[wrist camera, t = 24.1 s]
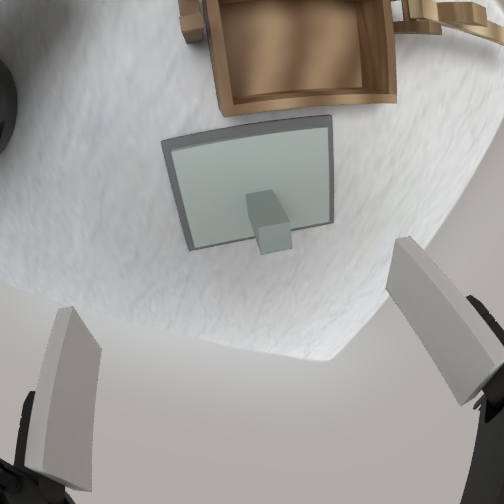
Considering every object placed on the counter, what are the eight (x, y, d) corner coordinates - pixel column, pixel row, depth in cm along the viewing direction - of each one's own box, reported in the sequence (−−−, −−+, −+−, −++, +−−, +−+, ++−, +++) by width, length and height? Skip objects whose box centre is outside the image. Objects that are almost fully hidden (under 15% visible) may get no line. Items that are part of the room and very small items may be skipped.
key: (410, 18, 20) (459, 17, 15) (407, -1, 19) (457, -5, 13) (525, 55, 22) (564, 66, 16) (524, 41, 21) (563, 51, 15)
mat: (188, 248, 41) (189, 251, 41) (161, 140, 33) (160, 142, 32) (331, 220, 43) (333, 222, 42) (330, 114, 34) (332, 115, 34)
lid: (194, 242, 40) (196, 289, 33) (171, 149, 33) (165, 177, 25) (325, 217, 42) (354, 256, 34) (323, 125, 34) (359, 146, 27)
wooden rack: (198, 111, 32) (199, 133, 22) (179, 0, 24) (172, -31, 14) (380, 93, 33) (442, 114, 23) (373, -4, 25) (436, -16, 16)
